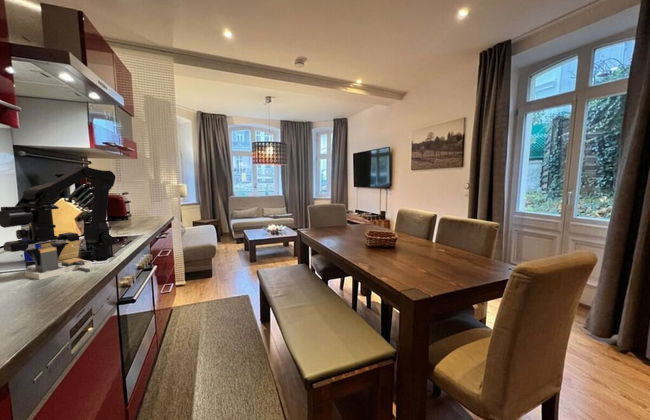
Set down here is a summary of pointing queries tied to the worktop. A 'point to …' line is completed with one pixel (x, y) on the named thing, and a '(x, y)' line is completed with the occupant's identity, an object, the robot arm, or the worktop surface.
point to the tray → (35, 267)
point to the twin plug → (74, 263)
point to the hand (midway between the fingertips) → (46, 263)
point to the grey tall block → (47, 259)
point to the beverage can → (26, 255)
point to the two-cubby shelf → (55, 270)
